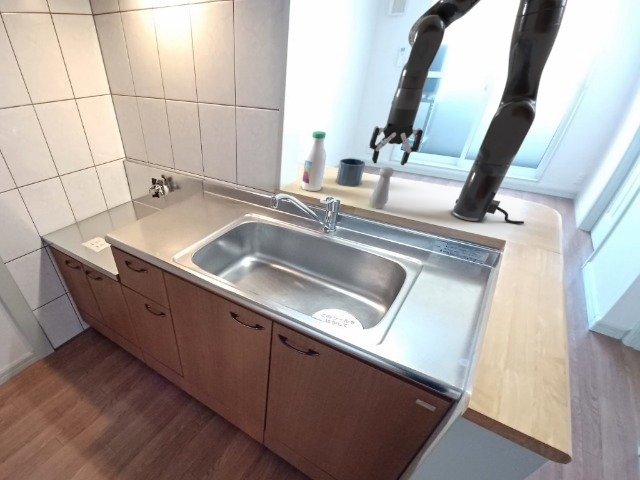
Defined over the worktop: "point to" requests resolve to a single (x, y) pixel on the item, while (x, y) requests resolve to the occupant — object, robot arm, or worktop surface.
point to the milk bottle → (314, 163)
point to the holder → (350, 172)
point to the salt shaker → (381, 188)
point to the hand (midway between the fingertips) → (388, 163)
